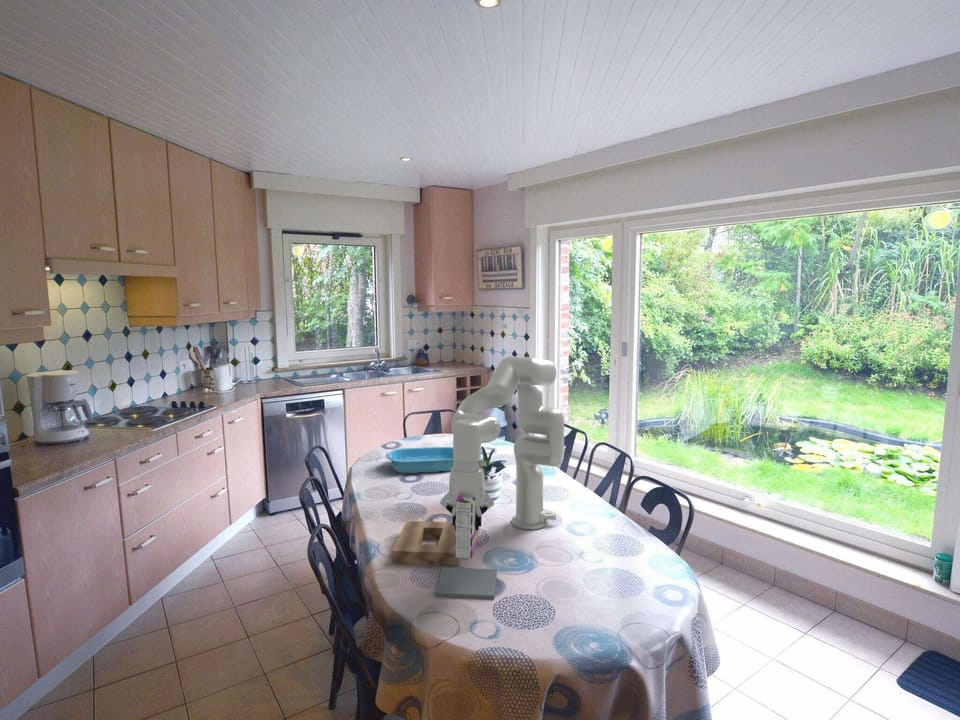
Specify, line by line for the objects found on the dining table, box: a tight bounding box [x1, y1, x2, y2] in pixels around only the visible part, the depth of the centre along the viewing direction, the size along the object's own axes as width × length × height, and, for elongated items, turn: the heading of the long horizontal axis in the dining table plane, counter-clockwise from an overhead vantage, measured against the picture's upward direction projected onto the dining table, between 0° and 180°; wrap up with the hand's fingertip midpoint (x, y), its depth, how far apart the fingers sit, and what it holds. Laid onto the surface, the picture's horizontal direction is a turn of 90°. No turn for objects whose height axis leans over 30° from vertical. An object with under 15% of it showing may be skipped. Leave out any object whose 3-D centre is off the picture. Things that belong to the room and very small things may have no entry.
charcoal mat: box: [434, 566, 498, 600], centre depth 154 cm, size 16×14×1 cm
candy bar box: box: [455, 497, 479, 560], centre depth 152 cm, size 11×5×16 cm, turn 171°
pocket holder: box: [391, 520, 460, 567], centre depth 175 cm, size 20×22×4 cm
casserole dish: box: [385, 446, 453, 474], centre depth 257 cm, size 37×22×7 cm, turn 101°
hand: (467, 527), depth 152 cm, fingers closed on candy bar box, 5 cm apart
